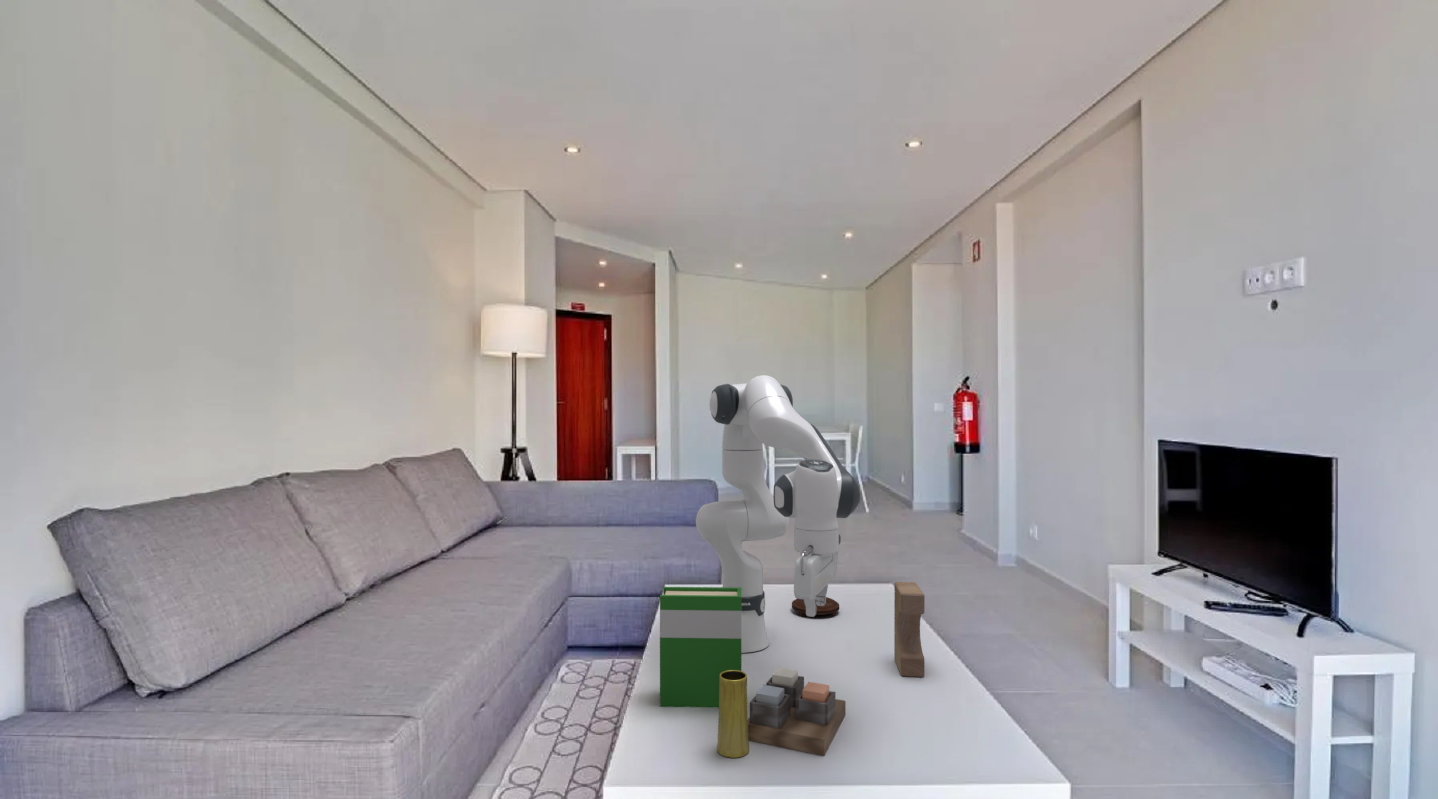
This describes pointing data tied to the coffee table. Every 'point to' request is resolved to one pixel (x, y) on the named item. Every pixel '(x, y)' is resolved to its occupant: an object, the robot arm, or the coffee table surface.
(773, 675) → the cream button
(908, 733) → the coffee table surface
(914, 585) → the decorative block
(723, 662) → the hardback book
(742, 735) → the vase
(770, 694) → the slate button
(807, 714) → the block sorting tray
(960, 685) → the coffee table surface
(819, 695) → the terracotta button
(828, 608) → the brown figurine
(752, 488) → the robot arm
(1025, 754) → the coffee table surface
